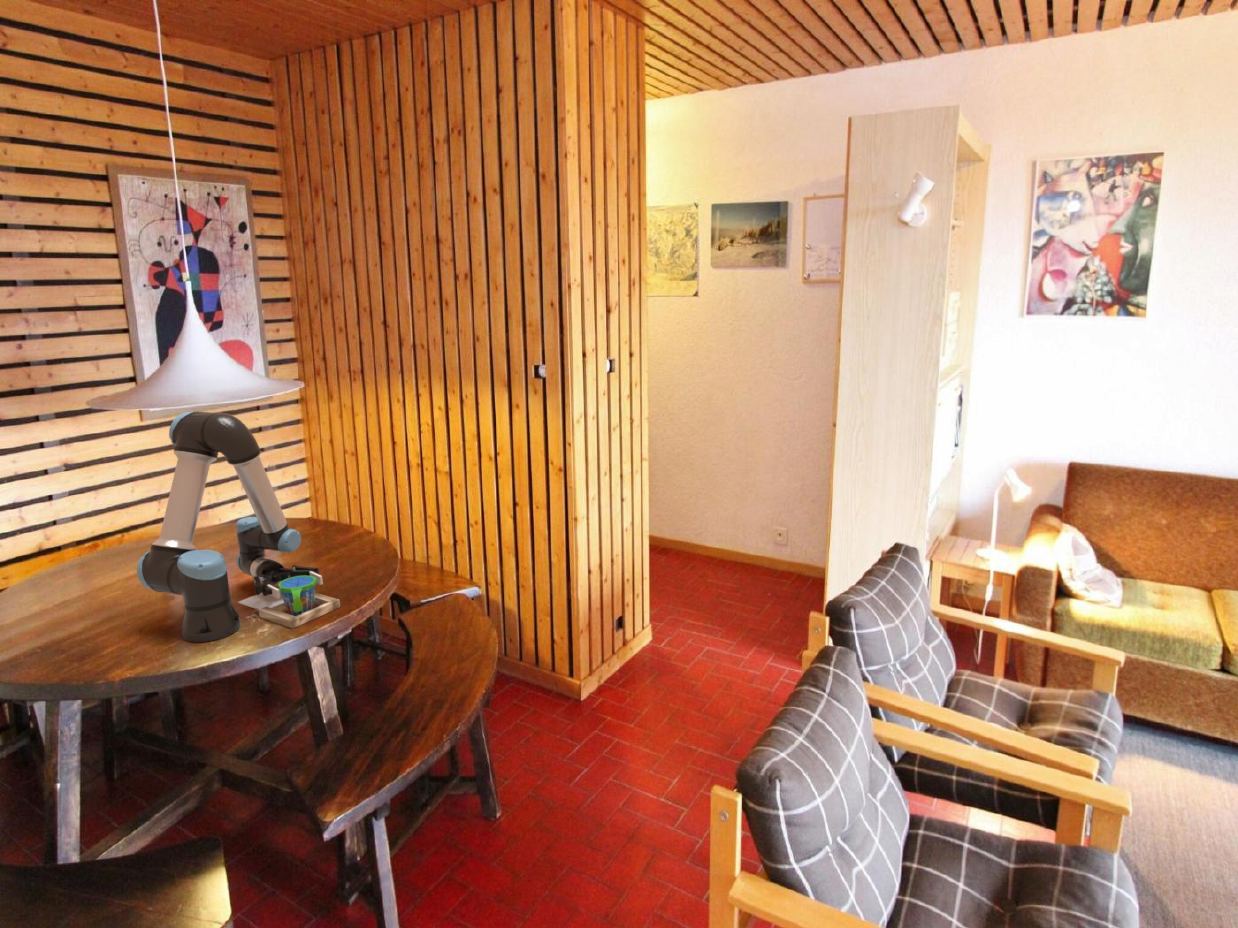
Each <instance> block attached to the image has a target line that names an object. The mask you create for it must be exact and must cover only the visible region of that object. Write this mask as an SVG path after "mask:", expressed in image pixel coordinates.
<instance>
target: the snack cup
mask: <svg viewBox="0 0 1238 928" xmlns="http://www.w3.org/2000/svg"><path fill="white" fill-rule="evenodd" d="M316 585H317V583H316V579H315V577H312V576H295V577H291V578H287V579H285V580H283V581H280V582H278V589H279V590H280V591H281V593H282V597H283V600H284V606H285V610H286V613H287V614H290V615H293V616H298V615H300V614H302V613H305V612H307V611H309V610H312V609H314V608H315V604H314V600H315V593H316Z"/></svg>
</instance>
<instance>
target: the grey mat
mask: <svg viewBox="0 0 1238 928" xmlns="http://www.w3.org/2000/svg"><path fill="white" fill-rule="evenodd" d="M237 604H240V605H242V606H246V607H247V608H248V607H249V608H251V609H255V610H256V611H259V609H261V608H264V607H269V608H272V609H274V608H276V607H279V606H281V605H283V604H284V600H283V597H282V593H281V591H280V598H279V599H277V598H276V597H274V596H272V595H267V596H263V593H260V594H259V595H256V594H254V595H252V596H249V597H247V598H243V599H241V600H240V601H237ZM284 605H285V604H284Z"/></svg>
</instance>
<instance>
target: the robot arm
mask: <svg viewBox="0 0 1238 928" xmlns="http://www.w3.org/2000/svg"><path fill="white" fill-rule="evenodd" d="M168 430H169V433H168V437H169V439H170V441H171V444H172V445H173V446H174V449H173V454H174V455H175V457H177V461H176V465H175V470H174V473H173V479H172V483H171V488H170V491H169V496H168V499H167V504H166V508H165V511H164V517H163V521H162V526H161V529H160V530H161V531H160V534H159V538H158V539H157V540H155V541H153V542H152V543H151V545H150V546H151V547H150V550H148V551H146V552H145V553H144V554H143V555H142V556H140V558H139V560H138V561H137V565H136V576H137V579H138V581H139V582H140V584H141V585H142V586H143V587H144V588H146V589H148V590H151V591H154V592H157V593H165V594H166V593H167V594H172V595H178V596H182V597H183V604H184V616H183V620H182V625H181V636H182V639H183V640H185V641H187V642H190V643H204V642H205V643H206V642H211V641H212V642H213V641H215V640H220V639H223V638H226V637H229V636H230V635H233V634H234V633H235V632H237V631H238V630H240V628H241V626H242V623H241V617H240V615H239V613H238V612H237V610H236V608H235V607H234V606H235V605H233V603H232V601H231V596H230V595H231V593H230V584H229V577H228V571H227V569H228V568H227V567H228V566H227V564H226V562H225V557H224V556H223V554H222V553H220V552H219V551H216V550H213V549H207V548H206V549H202V550H201V549H198V548H197V547H196V546H195V545H194V542H193V540H194V537H195V532H196V528H197V524H198V518H199V515H200V511H201V507H202V506H201V505H202V502H203V496H204V493H205V492H204V491H205V488H206V483H207V479H208V474H209V471H210V466H211V464H212V463H214V462H216V461H217V460H218V457H219V453H220V454H222V455H223V456H224V458H225V460H226V462H227V464H229V465H231V466H233V468H234V471H235V473H236V475H237V477H238V479H239V481H240V483H241V486H242V489H243V490H244V492H245V495H246V497H247V499H248V501H249V504H250V506H251V508H252V510H253V513H254V516H248V517H243V518H240V519H238V520H237V521H236V524H235V526H236V527H235V528H236V533H235V534H236V536H237V544H238V550H239V554H238V555H237V557H236V560H235V563H236V568H238V569H239V570H240V571H241V572H242V573H243V574H245V575H248V576H251V577H253V581H254V582H253V583H254V584H253V585H254V591H255V595H259V594H260V593H263V596H267V595H272V596H274V597H276V598H277V599H279V598H280V590H279V588H277V587H275V585H276V584H279V583H280V582H281V581H283V580H285V579H287V578H291V577H295V576H312V577H315V579H316V584H318V585H320V586H321V585H324V581H323V580H324V579H323V576H322V575H321V574H320V571H319V567H313V566H312V567H311V566H300V565H297V564H294V565H293V564H292V565H291V566H292V568H287V567H284V565H283V564H282V563H280V562H278V561H276V560H274V559H272V558H270V557H268V556H266V550H267V551H268V550H269V551H275V552H280V553H293V552H295V551H296V550H298V548H299V547H300V545H301V541H302V537H301V533H300V532H299V531H298V530H297V529H293V528H290V526H289V524H288V522H287V520H286V516H285V514H284V512H283V510H282V507H281V505H280V502H279V500H278V498H277V495H276V493H275V491H274V488H273V486H272V484H271V482H270V478H269V477H268V473H267V472H266V469H265V467H264V464H263V462H262V459H261V457H260V455H261V454H262V450H261V449H260V446H259V444H258V442H257V440H256V438H255V436H254V435H253V433H252V431H251V430H250V429H249V428H248V427H247V426H246V424H245V423H243V421H242V420H240V419H239V418H237V417H236V416H234V415H232V414H229V413H225V412H220V413H219V412H210V411H195V410H194V411H186V412H183V413H181V414H180V415H177V416H176V417H175V418H174V419H173V421H172V423H171V424H170V427H169V429H168Z"/></svg>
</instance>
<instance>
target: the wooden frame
mask: <svg viewBox="0 0 1238 928" xmlns="http://www.w3.org/2000/svg"><path fill="white" fill-rule="evenodd" d="M314 606H316V607H314V609H312V610H309V611H307V612H305V613H302V614H300V615H298V616H293V615H290V614H288V613H287V612H284V611H281V610H278V609H274V608H269V607H264V608H261V609H259V610H258V614H259V618H261V619H264V620H267V621H269V622H272V623H275V624H278V625H281V626H283V627H287V628H290V629H295V628H298V627H299V626H302V625H304V624H307V623H308V622H311V621H313V620H315V619H317V618H319V617H322V616H323V615H326V614H329V613H330V612H333V611H335V610H337V609H340V608H341V602H340V599H339V598H334V597H331V596H328V595H324V594H321V593H319V592H315V600H314Z"/></svg>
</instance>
